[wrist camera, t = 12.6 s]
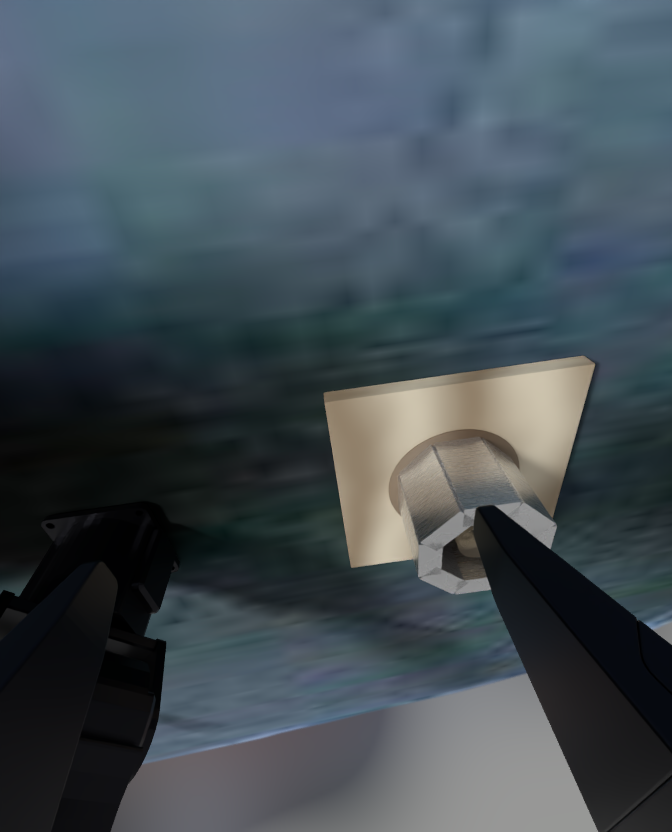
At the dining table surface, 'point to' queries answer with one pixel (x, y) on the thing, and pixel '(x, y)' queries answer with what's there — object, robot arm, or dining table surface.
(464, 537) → the bronze post
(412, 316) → the dining table surface
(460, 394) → the birch base board
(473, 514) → the aluminium ring
